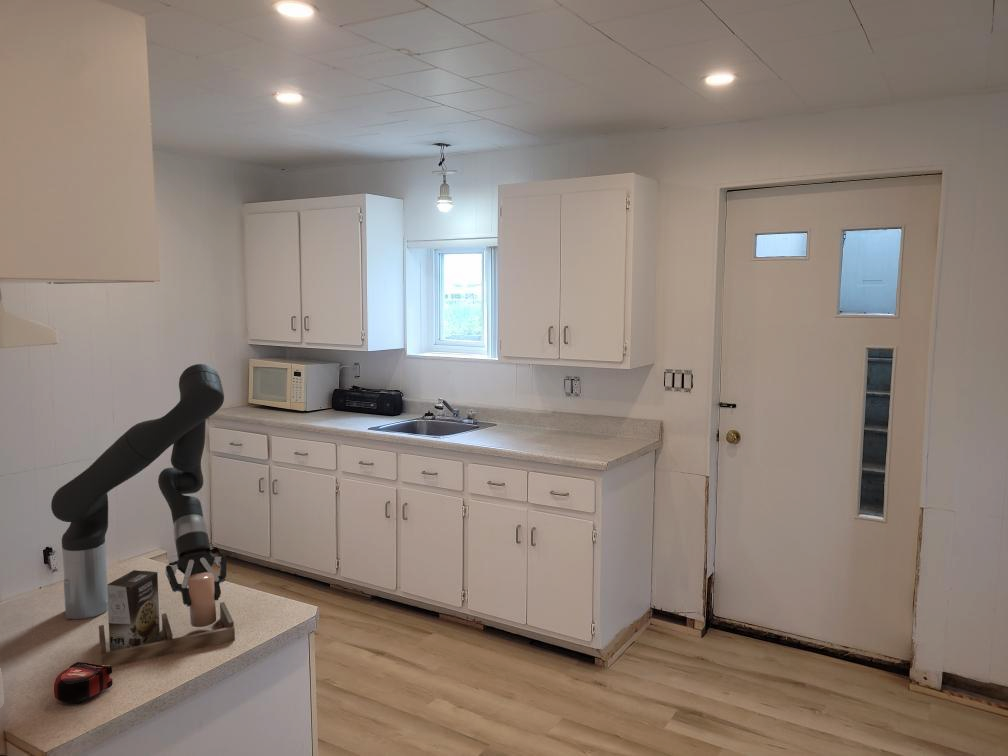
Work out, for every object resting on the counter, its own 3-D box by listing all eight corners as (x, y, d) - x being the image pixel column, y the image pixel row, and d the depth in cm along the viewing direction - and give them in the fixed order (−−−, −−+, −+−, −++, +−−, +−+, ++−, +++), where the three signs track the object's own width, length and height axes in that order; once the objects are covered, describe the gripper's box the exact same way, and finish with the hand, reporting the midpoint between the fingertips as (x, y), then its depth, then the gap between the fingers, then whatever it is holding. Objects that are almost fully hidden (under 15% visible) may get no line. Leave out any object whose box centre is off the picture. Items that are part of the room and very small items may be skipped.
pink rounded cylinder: (192, 629, 172) (189, 583, 170) (188, 619, 177) (186, 575, 175) (218, 623, 175) (215, 578, 173) (213, 614, 179) (211, 570, 178)
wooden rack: (101, 668, 158) (101, 650, 157) (99, 642, 169) (98, 625, 169) (234, 640, 171) (234, 623, 171) (224, 617, 183) (224, 602, 182)
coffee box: (134, 657, 163) (131, 587, 161) (108, 654, 164) (105, 584, 162) (161, 638, 172) (158, 571, 170) (136, 635, 173) (133, 568, 171)
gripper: (160, 535, 176) (170, 602, 168) (223, 525, 184) (236, 588, 175) (158, 550, 181) (168, 615, 173) (220, 539, 189) (233, 601, 180)
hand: (203, 601), depth 174 cm, fingers closed on pink rounded cylinder, 5 cm apart
